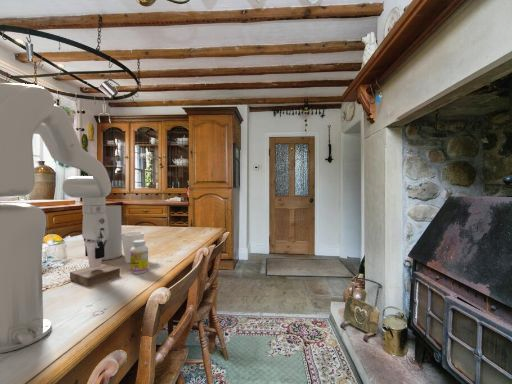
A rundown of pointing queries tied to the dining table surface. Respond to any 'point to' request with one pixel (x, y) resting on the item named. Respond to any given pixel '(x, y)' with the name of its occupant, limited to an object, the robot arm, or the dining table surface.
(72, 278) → the plinth
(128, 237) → the foam cup
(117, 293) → the dining table surface
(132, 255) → the supplement bottle
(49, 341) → the dining table surface
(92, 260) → the smoothie
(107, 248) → the cylinder vase
